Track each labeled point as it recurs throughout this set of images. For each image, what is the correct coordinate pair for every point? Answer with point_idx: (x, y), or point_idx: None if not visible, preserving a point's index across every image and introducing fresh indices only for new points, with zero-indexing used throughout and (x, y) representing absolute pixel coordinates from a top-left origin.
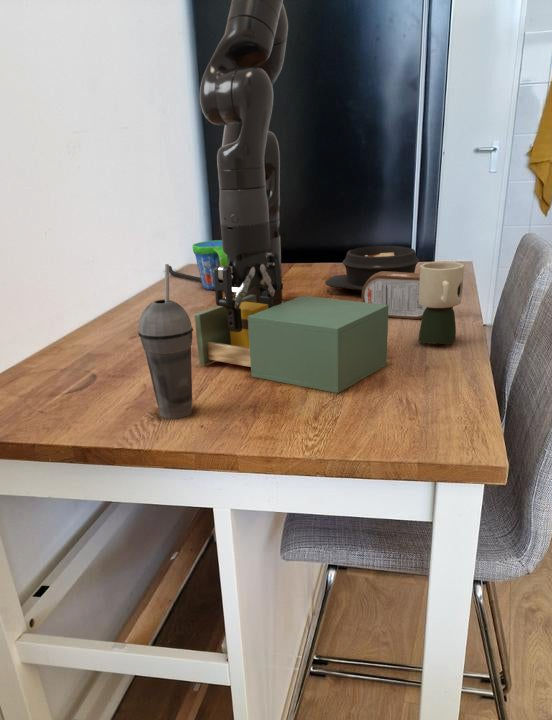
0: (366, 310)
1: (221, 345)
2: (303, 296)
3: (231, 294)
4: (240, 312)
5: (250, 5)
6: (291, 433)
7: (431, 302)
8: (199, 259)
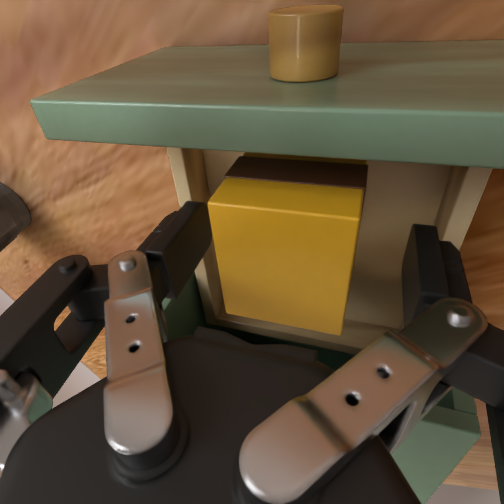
0: None
1: (171, 165)
2: (460, 438)
3: (83, 346)
4: (180, 286)
5: None
6: (103, 345)
7: None
8: None
